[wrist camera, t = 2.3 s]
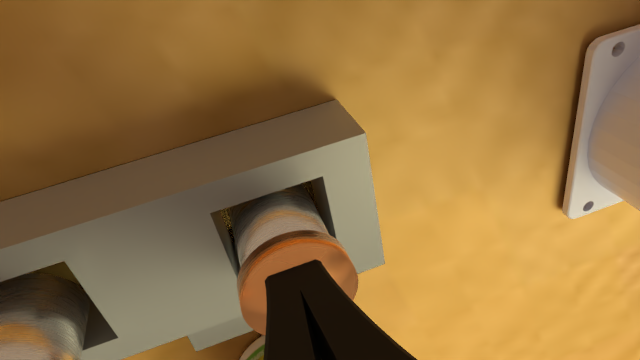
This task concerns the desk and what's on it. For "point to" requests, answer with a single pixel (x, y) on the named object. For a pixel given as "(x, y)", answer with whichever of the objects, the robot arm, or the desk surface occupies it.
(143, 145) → the desk surface
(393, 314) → the desk surface
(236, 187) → the housing
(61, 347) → the plunger
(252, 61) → the desk surface
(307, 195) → the plunger
